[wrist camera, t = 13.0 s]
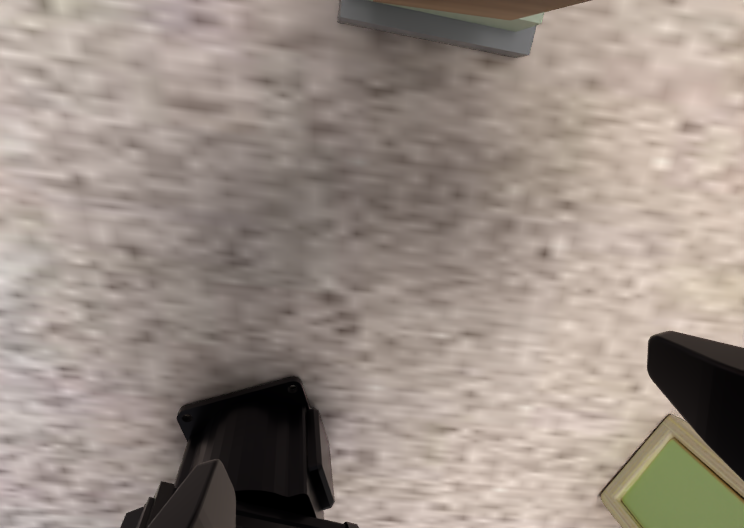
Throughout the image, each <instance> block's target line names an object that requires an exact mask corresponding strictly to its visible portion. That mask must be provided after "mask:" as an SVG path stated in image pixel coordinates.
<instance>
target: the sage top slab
mask: <svg viewBox="0 0 744 528" xmlns="http://www.w3.org/2000/svg"><path fill="white" fill-rule="evenodd" d="M368 1H373V0H368ZM377 3H379V2H377ZM382 4H387V3H382ZM387 5H392V6H396V7H401V8H406V9H410V10H415V11H420V12H424V13H429V14H434V15H438V16H443V17H448V18H452V19H457V20H462V21H466V22H471V23H476V24H480V25H485V26H490V27H494V28H499V29H504V30H508V31H513V32H517V31H520V30H524V29H527V28H530V27H533V26H536V25H539V24H541V23H542V19H543V15H544V12H543V13H539V14H535V15H531V16H527V17H523V18H519V19H515V20H511V21H510V20H503V19H495V18H488V17H481V16H474V15H466V14H459V13H452V12H445V11H437V10H430V9H423V8H416V7H408V6H401V5H394V4H387Z"/></svg>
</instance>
